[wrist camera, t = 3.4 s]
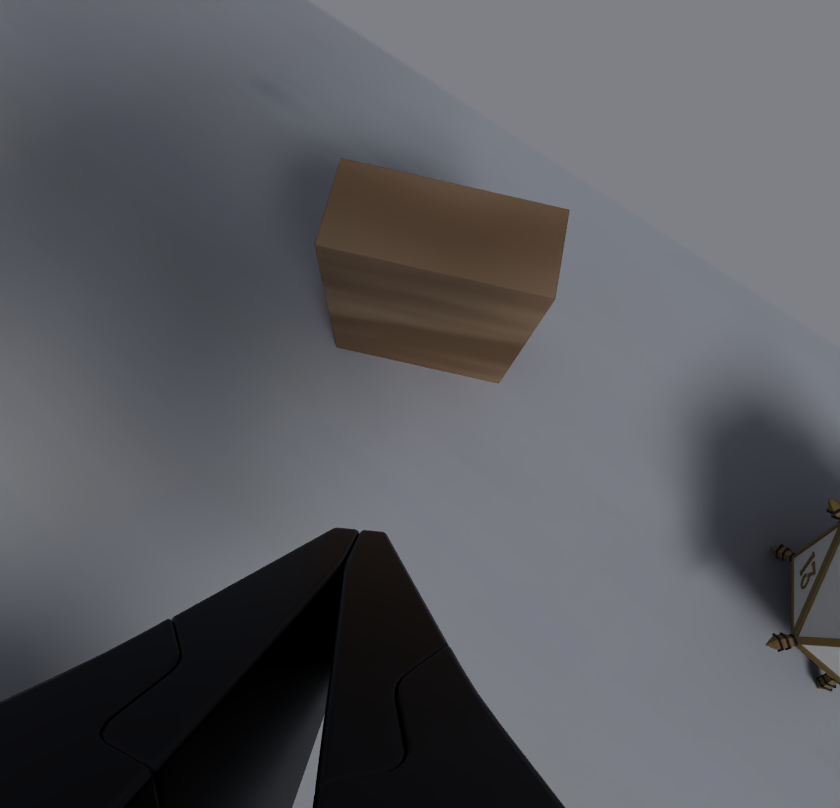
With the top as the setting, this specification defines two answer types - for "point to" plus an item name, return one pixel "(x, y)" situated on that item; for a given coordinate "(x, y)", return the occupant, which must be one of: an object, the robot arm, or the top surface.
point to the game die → (815, 601)
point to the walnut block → (436, 269)
